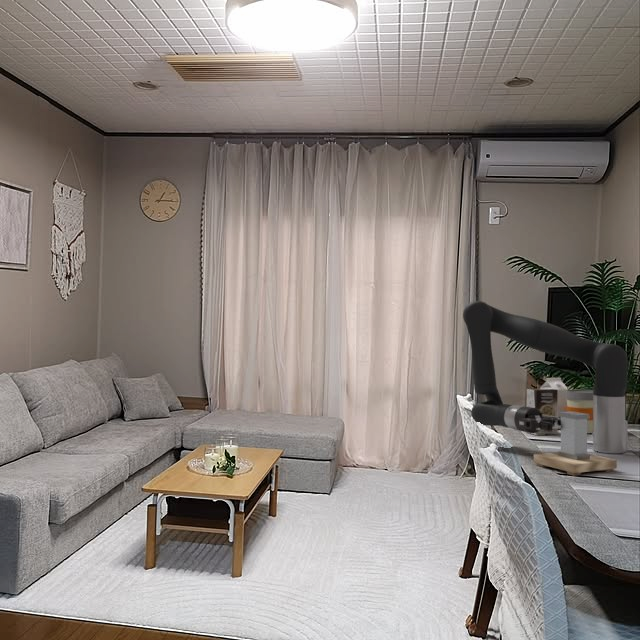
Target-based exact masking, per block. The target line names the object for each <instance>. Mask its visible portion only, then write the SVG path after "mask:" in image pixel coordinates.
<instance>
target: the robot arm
mask: <svg viewBox="0 0 640 640" xmlns="http://www.w3.org/2000/svg"><path fill="white" fill-rule="evenodd" d="M462 319H463V321H464V323H465V326H466V329H467V332H468V336H469V340H470V347H471V364H472V365H471V369H472V380H473V388H474V391H475V393H476V394H477V395H480V396H482V395H483V396H485V399H486V400H485V401H482V402H477V403H475V404H474V405H473V406H472V408H471V412H470V413H471V418H472V419H473V421H474V422H475V423H477V422H480V423H481V424H483V425H482V426H491V427H492V426H493V427H494V426H495V427H496V426H498V427H499V426H501V427H504V428H509V429H513V430H515V431H519V432H523V433H524V432H525V433H526V432H528V433H527V434H530V433H536V432H538V431H539V430H541V429H542V430H547V431H552V428H553V429H557V428H558V427H561V417H559V416H548V415H542V413H541V412H540V410H538V409H537V408H532V407H527V405H526V406H525V405H512V404H508V403H507V404H505V403H504V402H503V400H502V397H501V395H500V392H499V390H498V387H497V380H496V379H497V378H496V370H495V369H496V368H495V363H494V357H493V351H492V350H493V349H492V339H491V338H492V337H491V335H492V333H495V334H499V335H501V336H504V337H506V338H508V339H511V340H512V341H514V342H516V343H518V344H521V345H522V346H524V347H527V348H530V349H533V350H536V351H538V352H542V353H545V354H549V355H553V356H556V357H563V358H567V359H571V360H575V361H578V362H579V363H583V364H584V365H587V366H589V367H591V368H593V369H595V370H594V371H595V372H594V373H595V376H594V379H595V380H594V384H593V387H592V390H593V434H592V450H593V451H594V450H595V452H597V451H598V452H599V453H603V454H604V453H605V454H624V453H626V452H628V449H629V448H628V440H629V439H628V424H629V423H628V420H626V390H627V387H628V369H629V368H628V362H629V361H628V354H627V353H626V351H625V349H624V348H623V347H621V346H619V345H617V344H614V343H603V342H601V341H600V342H599V341H595V340H591V339H586V338H583V337H581V336H578V335H576V334H574V333H572V332H571V331H569V330H566V329H564V328H561V327H560V326H557V325H554V324H552V323H549V322H546V321H542V320H539V319H535V318H532V317H528V316H523V315H518V314H512V313H509V312H506V311H503V310H501V309H499V308H497V307H494V306H492V305H490V304H488V303H486V302H485V301H482V300H473V301H470V302H468V303H467V305H466V306H465V307H464V309H463V311H462ZM551 418H553V419H551ZM552 424H553V425H555V426H552ZM557 430H558V429H557ZM598 452H597V453H598Z"/></svg>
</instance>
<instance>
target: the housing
mask: <svg viewBox="0 0 640 640" xmlns="http://www.w3.org/2000/svg"><path fill="white" fill-rule="evenodd" d="M558 416H559V417H561V429H560V450H558V451H557V452H558V456H562V457H566V458H570V459H574V460H583V459H590V454H591V453H588V434H587V419H590V414H585V413H578V412H572V411H567V412H558Z"/></svg>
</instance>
